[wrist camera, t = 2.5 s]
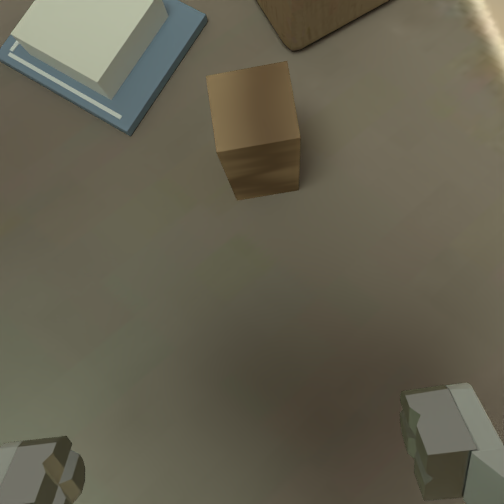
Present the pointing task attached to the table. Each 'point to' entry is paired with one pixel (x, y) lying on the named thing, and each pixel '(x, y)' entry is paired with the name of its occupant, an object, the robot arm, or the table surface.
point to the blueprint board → (137, 82)
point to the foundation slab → (91, 37)
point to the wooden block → (312, 17)
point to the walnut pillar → (256, 129)
